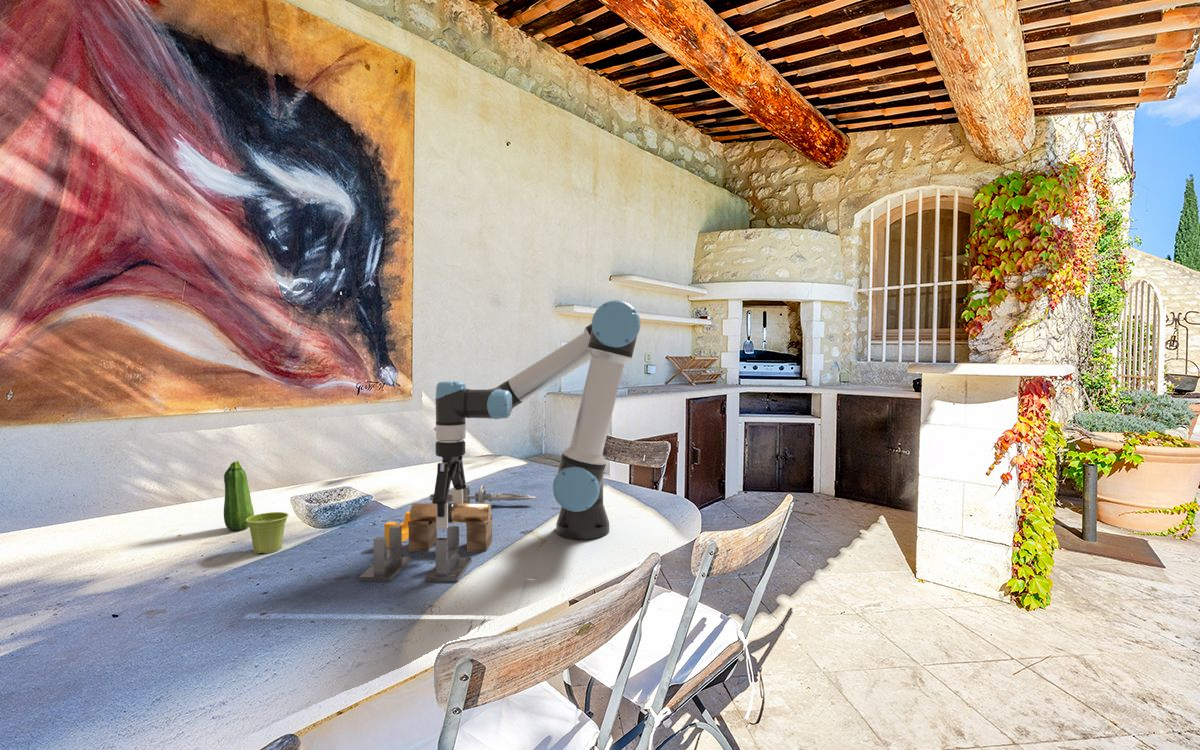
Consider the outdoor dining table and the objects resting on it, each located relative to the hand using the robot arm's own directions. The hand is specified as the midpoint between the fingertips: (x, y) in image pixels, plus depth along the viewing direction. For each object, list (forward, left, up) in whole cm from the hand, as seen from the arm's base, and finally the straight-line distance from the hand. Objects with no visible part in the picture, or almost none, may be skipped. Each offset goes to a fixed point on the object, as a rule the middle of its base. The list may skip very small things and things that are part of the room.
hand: (450, 520), depth 140 cm
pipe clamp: (+16, -5, -7) cm, 18 cm away
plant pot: (+47, +3, -7) cm, 47 cm away
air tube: (0, 0, +2) cm, 2 cm away
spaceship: (0, -36, -7) cm, 37 cm away
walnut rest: (0, 0, -7) cm, 7 cm away
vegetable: (+66, -13, -7) cm, 67 cm away
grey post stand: (+3, +16, -7) cm, 18 cm away
